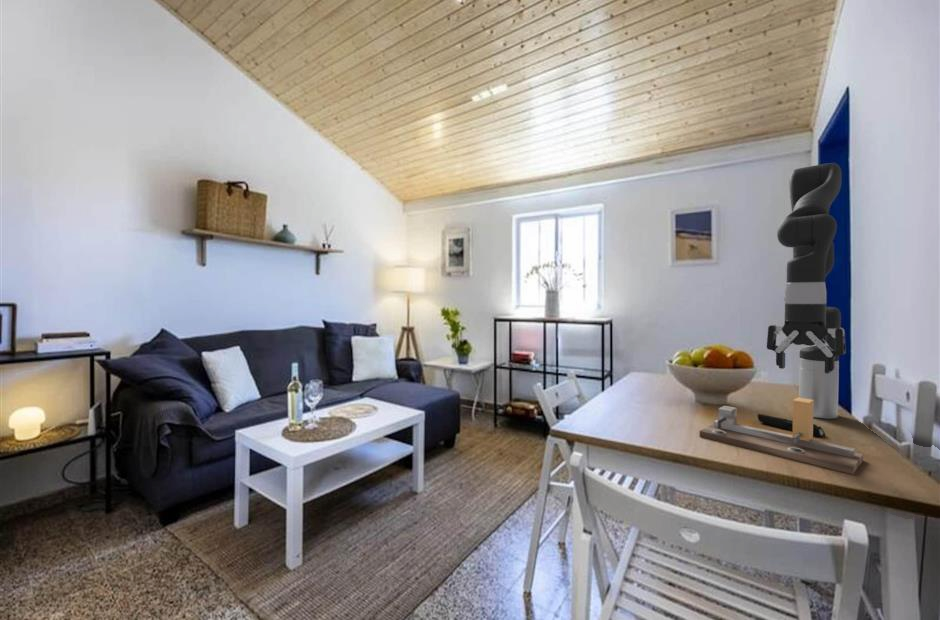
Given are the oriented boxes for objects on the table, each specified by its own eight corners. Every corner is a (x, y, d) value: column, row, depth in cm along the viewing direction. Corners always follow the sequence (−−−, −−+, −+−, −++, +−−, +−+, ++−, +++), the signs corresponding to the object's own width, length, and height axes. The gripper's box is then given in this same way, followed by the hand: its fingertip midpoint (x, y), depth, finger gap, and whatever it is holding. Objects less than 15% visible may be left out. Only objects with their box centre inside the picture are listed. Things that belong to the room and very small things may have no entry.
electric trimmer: (761, 422, 121) (761, 412, 121) (826, 436, 108) (826, 425, 108) (755, 424, 119) (755, 414, 119) (820, 439, 106) (820, 427, 106)
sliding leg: (797, 436, 99) (797, 397, 99) (812, 439, 97) (813, 399, 97) (787, 443, 95) (788, 403, 94) (803, 447, 92) (804, 405, 92)
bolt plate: (716, 427, 115) (716, 402, 115) (862, 460, 92) (863, 429, 91) (699, 436, 108) (699, 410, 108) (853, 474, 85) (854, 440, 84)
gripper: (849, 301, 93) (847, 372, 93) (773, 301, 104) (772, 364, 104) (842, 302, 88) (840, 377, 89) (763, 302, 99) (762, 368, 100)
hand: (803, 370), depth 96 cm, fingers open, 8 cm apart
